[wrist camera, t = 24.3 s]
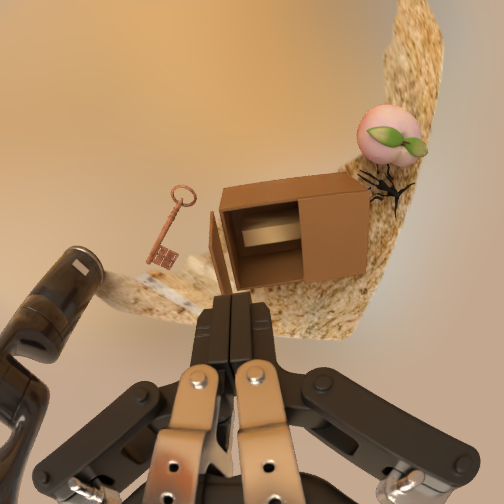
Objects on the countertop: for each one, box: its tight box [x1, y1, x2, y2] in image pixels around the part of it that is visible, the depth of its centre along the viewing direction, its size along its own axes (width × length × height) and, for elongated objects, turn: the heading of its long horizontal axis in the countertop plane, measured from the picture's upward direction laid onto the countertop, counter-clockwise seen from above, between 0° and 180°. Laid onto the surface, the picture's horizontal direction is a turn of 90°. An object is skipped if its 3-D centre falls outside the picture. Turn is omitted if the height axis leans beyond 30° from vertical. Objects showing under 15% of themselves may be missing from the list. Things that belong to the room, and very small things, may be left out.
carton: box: [209, 172, 368, 295], centre depth 33 cm, size 19×12×17 cm, turn 99°
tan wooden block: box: [242, 208, 301, 247], centre depth 38 cm, size 14×2×5 cm, turn 99°
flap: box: [298, 191, 370, 284], centre depth 33 cm, size 9×12×1 cm
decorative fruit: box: [357, 104, 428, 167], centre depth 30 cm, size 9×8×10 cm
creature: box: [357, 164, 415, 218], centre depth 36 cm, size 8×5×8 cm
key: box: [146, 185, 197, 270], centre depth 41 cm, size 6×1×15 cm
